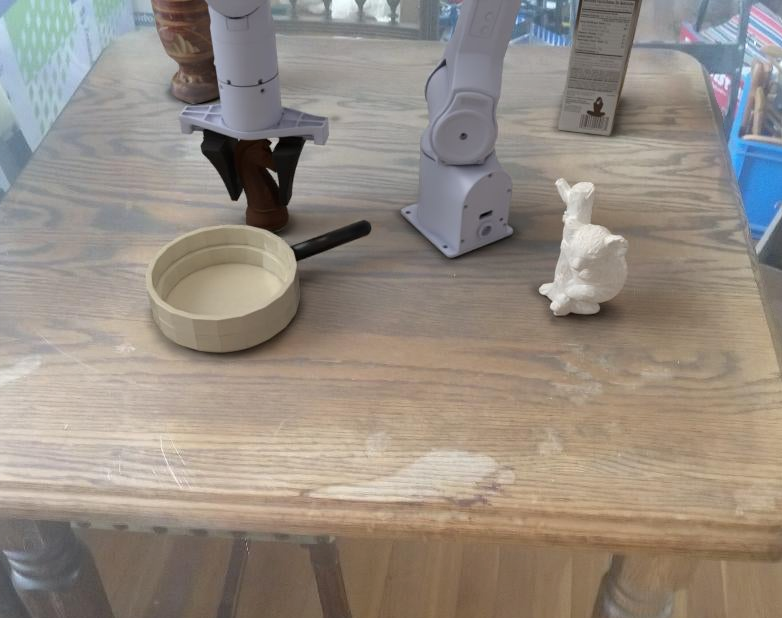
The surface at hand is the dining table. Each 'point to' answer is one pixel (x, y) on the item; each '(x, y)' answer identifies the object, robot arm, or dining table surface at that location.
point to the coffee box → (598, 64)
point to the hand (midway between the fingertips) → (262, 198)
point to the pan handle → (331, 239)
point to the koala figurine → (585, 257)
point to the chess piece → (260, 185)
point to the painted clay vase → (188, 47)
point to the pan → (223, 287)
